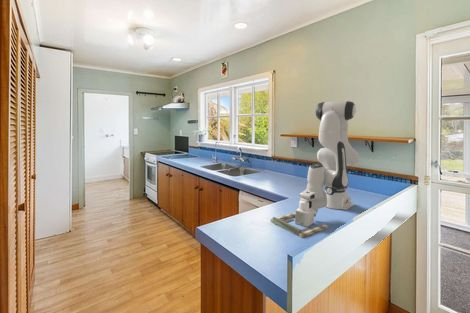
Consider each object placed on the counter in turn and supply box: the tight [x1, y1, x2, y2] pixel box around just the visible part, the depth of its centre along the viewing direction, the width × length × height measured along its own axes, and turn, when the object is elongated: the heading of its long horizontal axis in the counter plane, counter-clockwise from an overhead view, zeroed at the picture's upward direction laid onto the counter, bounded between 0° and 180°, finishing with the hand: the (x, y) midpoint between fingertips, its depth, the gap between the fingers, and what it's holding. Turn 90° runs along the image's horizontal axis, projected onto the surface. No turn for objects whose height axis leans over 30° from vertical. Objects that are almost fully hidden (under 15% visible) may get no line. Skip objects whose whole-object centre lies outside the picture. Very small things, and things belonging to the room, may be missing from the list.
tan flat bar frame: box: [270, 211, 328, 238], centre depth 132 cm, size 20×22×3 cm
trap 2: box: [301, 226, 314, 233], centre depth 125 cm, size 10×3×1 cm, turn 124°
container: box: [294, 200, 315, 228], centre depth 134 cm, size 8×8×13 cm
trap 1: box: [282, 217, 295, 223], centre depth 136 cm, size 10×3×1 cm, turn 124°
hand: (313, 216), depth 138 cm, fingers closed
